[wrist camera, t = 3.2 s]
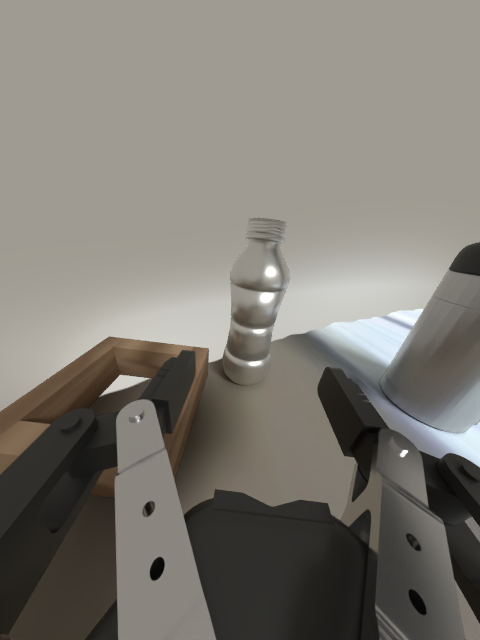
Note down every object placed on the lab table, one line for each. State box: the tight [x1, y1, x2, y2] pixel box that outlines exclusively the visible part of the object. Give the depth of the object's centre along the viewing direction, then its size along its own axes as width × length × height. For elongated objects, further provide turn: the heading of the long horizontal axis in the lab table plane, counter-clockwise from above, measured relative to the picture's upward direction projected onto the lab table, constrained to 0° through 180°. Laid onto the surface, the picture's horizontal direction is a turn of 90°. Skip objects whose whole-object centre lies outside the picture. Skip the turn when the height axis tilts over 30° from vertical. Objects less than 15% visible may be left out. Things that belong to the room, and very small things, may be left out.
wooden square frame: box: [0, 337, 209, 498], centre depth 18 cm, size 14×14×4 cm
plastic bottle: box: [222, 218, 290, 386], centre depth 21 cm, size 6×7×20 cm
